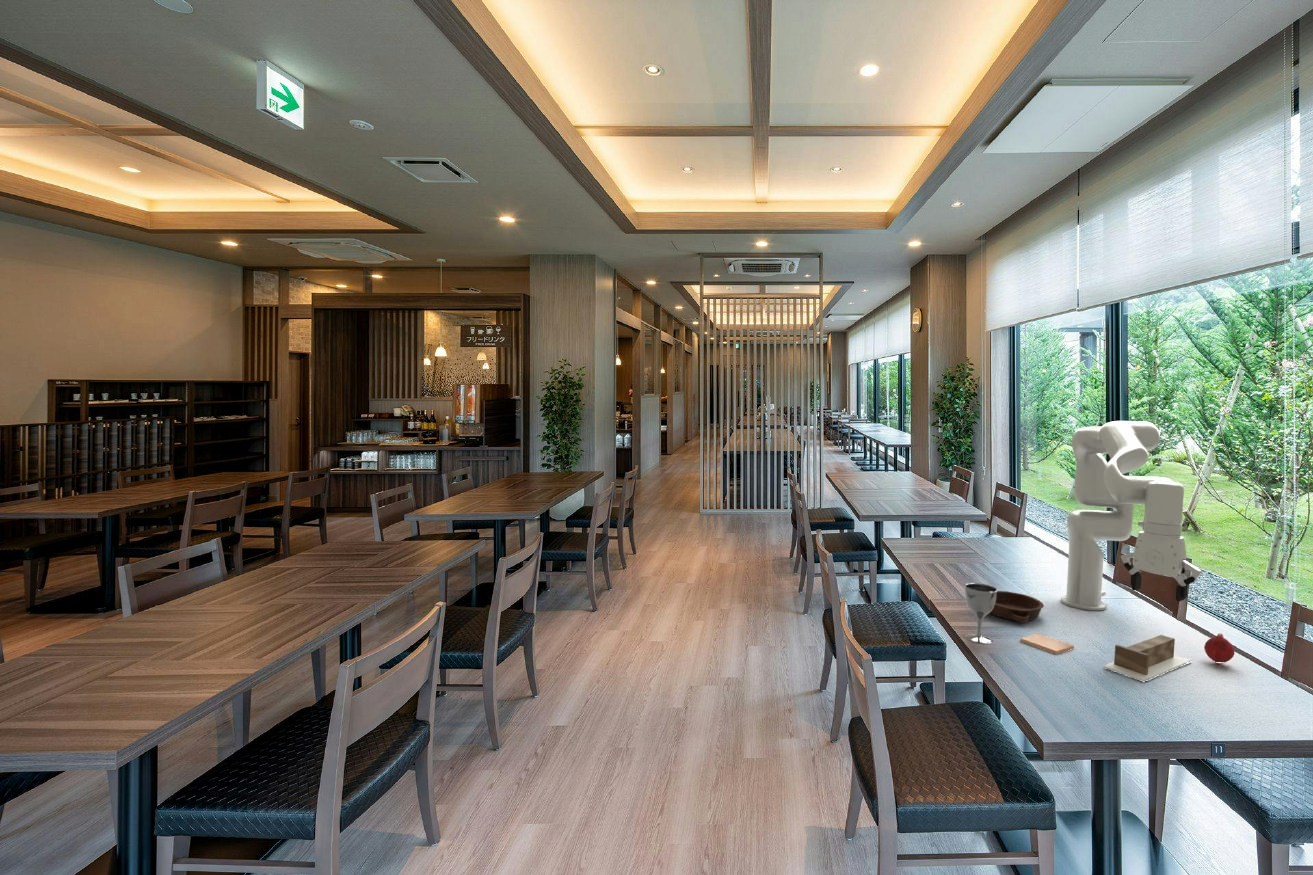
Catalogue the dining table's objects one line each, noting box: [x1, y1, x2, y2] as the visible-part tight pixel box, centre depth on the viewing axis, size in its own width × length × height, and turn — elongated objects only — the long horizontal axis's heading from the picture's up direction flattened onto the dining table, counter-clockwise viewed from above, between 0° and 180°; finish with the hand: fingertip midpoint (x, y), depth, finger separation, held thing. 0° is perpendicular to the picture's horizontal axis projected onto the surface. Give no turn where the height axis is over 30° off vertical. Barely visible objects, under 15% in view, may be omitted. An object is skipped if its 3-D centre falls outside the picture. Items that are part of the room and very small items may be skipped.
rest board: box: [1102, 654, 1192, 681], centre depth 162 cm, size 24×9×1 cm, turn 119°
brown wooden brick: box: [1113, 634, 1176, 675], centre depth 162 cm, size 19×7×5 cm, turn 119°
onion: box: [1203, 632, 1235, 663], centre depth 163 cm, size 6×6×8 cm
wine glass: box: [964, 582, 998, 645], centre depth 178 cm, size 8×8×15 cm
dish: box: [989, 590, 1045, 623], centre depth 200 cm, size 18×22×5 cm
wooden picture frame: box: [1019, 633, 1075, 655], centre depth 175 cm, size 1×10×8 cm
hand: (1157, 594), depth 162 cm, fingers open, 9 cm apart
